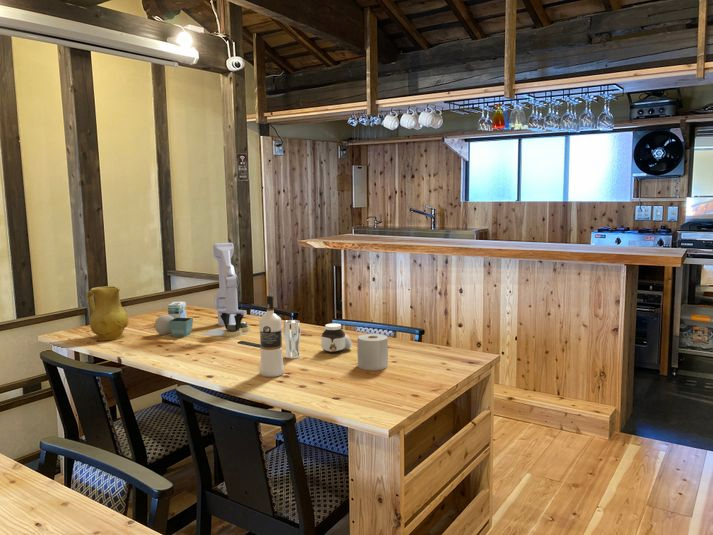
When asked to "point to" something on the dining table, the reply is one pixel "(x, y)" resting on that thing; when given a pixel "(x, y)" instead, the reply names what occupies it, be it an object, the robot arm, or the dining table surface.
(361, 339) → the toilet paper roll
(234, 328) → the cap
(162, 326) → the ball
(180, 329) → the flower pot
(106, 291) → the pitcher
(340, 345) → the spread jar
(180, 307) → the light bulb box
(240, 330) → the board
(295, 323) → the beer glass
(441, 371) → the dining table surface
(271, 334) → the vodka
